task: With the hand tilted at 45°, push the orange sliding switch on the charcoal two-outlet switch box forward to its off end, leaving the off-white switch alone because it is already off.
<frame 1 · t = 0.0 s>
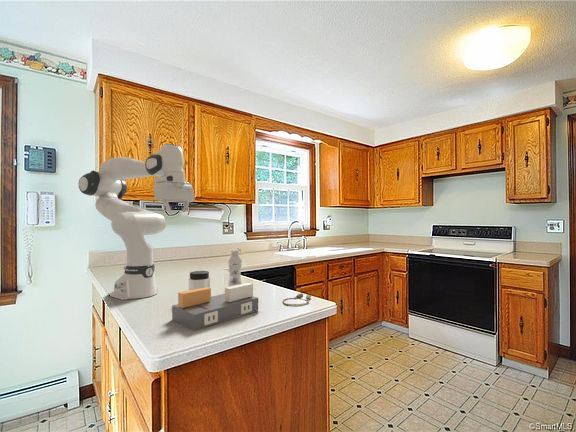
hand: (177, 211, 129), 39 cm above the worktop, tool pointing down, fingers open, 8 cm apart
white switch: (239, 291, 112), point 8 cm above the worktop, slide at 6.0 cm
orange switch: (195, 297, 105), point 8 cm above the worktop, slide at 0.0 cm
jar: (199, 300, 130), on the worktop
extension cord: (298, 302, 126), on the worktop
switch box: (219, 315, 107), on the worktop
plastic bottle: (235, 292, 142), on the worktop
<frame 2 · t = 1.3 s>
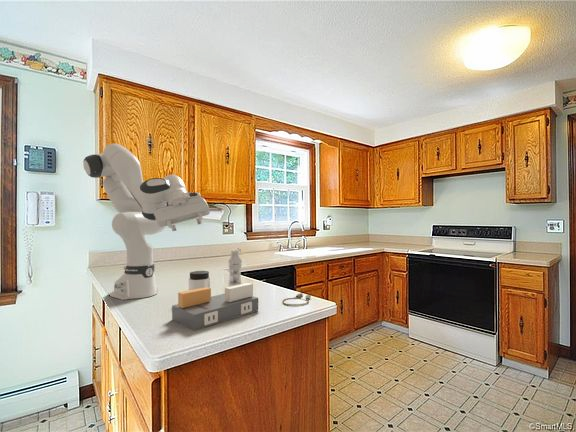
hand: (187, 226, 112), 33 cm above the worktop, tool tilted 50°, fingers open, 8 cm apart
nothing on the worktop moved.
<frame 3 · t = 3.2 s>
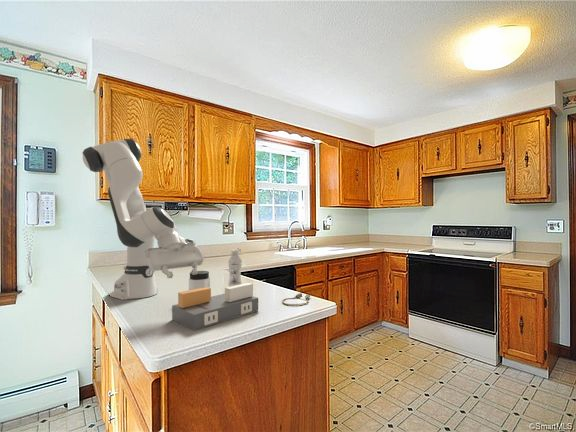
hand: (183, 275, 107), 15 cm above the worktop, tool tilted 45°, fingers open, 8 cm apart
nothing on the worktop moved.
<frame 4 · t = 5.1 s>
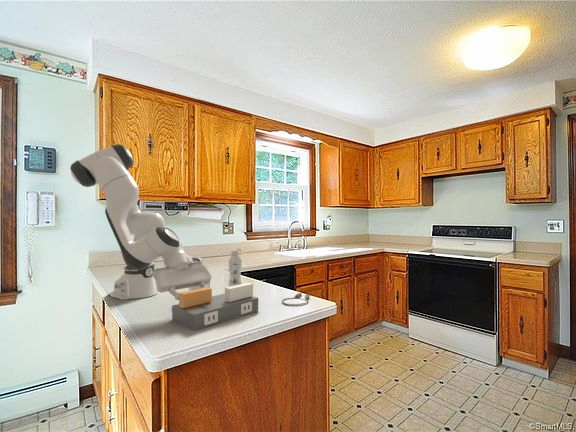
hand: (191, 296, 105), 8 cm above the worktop, tool tilted 45°, fingers open, 8 cm apart
orange switch: (195, 297, 104), point 8 cm above the worktop, slide at 0.6 cm, touching gripper
everything else where it was.
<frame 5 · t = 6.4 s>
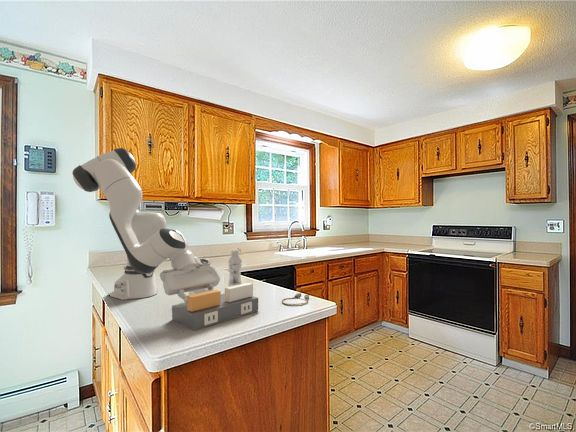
hand: (200, 299, 102), 8 cm above the worktop, tool tilted 45°
orange switch: (204, 300, 100), point 8 cm above the worktop, slide at 6.1 cm, touching gripper
everything else where it was.
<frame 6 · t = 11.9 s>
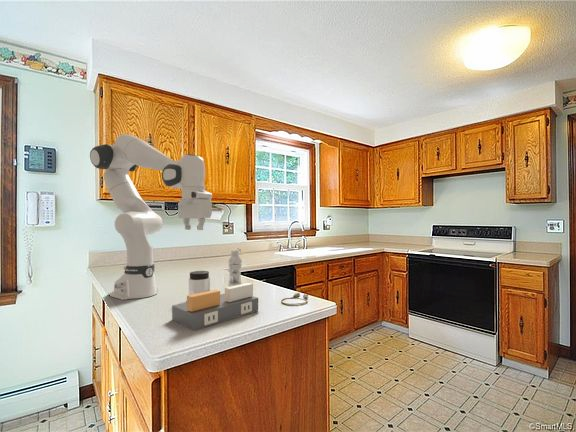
hand: (193, 229, 117), 31 cm above the worktop, tool pointing down, fingers open, 8 cm apart
orange switch: (204, 300, 101), point 8 cm above the worktop, slide at 6.0 cm
at the end: orange switch slide at 6.0 cm; white switch slide at 6.0 cm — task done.
